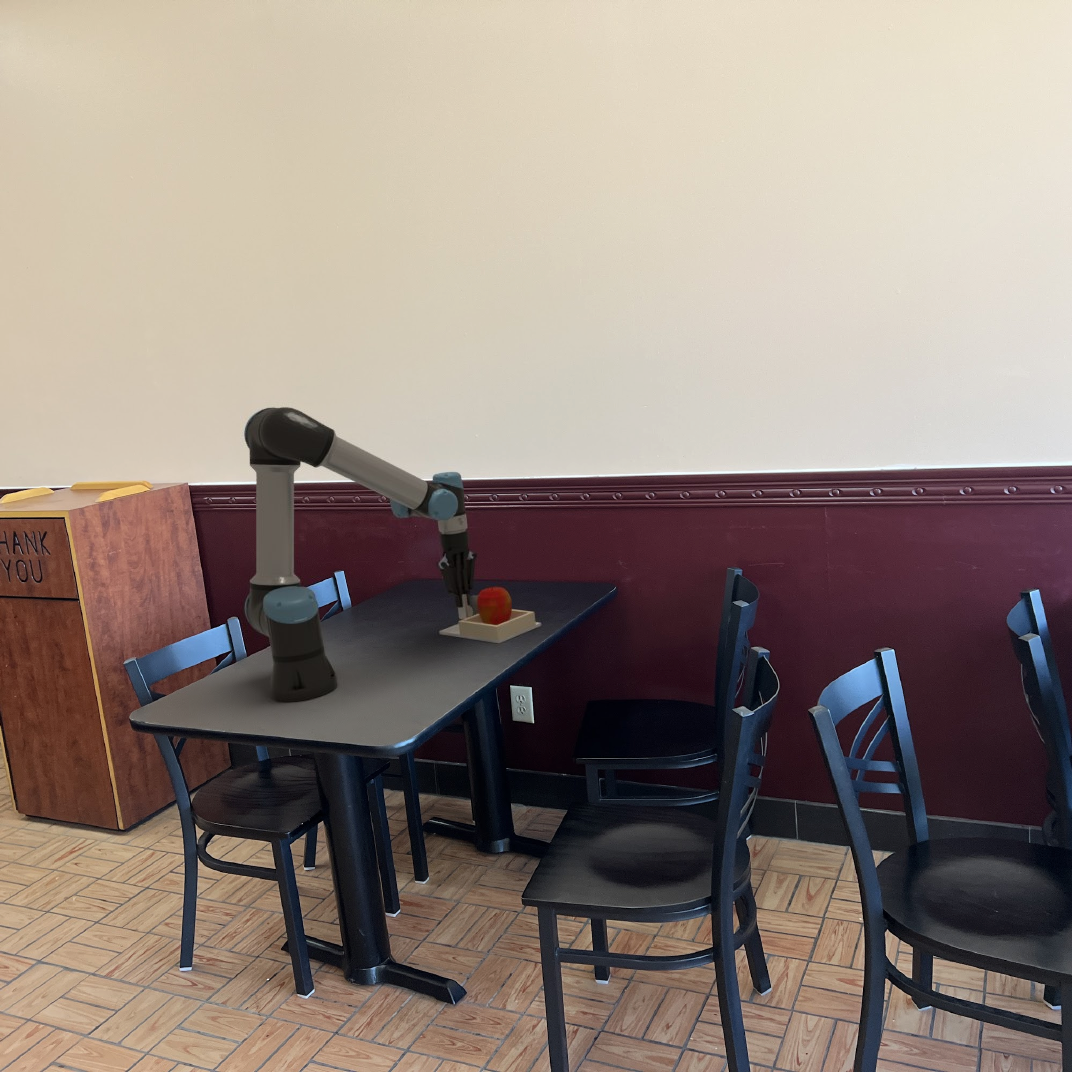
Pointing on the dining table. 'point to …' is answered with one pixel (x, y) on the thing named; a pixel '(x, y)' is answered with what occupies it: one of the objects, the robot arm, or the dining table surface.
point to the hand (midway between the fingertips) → (464, 618)
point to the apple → (494, 605)
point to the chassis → (493, 627)
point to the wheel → (472, 605)
